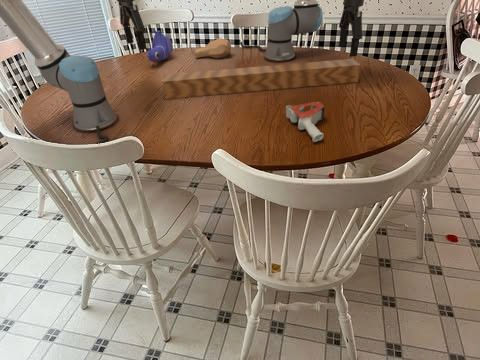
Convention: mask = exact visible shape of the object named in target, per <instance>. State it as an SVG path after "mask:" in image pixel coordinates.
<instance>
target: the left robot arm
mask: <svg viewBox="0 0 480 360" xmlns="http://www.w3.org/2000/svg"><path fill="white" fill-rule="evenodd" d="M134 1H136V0H116V2H117V3H118V8H119V9H118V10H119V22H120V25H121V26H122V28H123V31H124V35H125V40H126V44H128V45H129V44H133V43H134V37H133V33H132V29H131V27H132V26H131V24H130V20H131V23H132V25H133V27H134V29H135V35H136V39H137V44H138V48H139V51H143V50H148V48H147V44H146V39H145V32H146V27H145V25H144V23H143V20H142V17H141V14H140V11H139V8H138V5H137V4H134ZM0 19H1V21H2V22H3V23H4V24H5V25H6V26H7V27H8V28H9V30H10V31H11V32H12V33H13V34H14V36H16V38H17V39H18V40H19V41H20V43H21V44H23V46H24V47H25V48H26V49H27V51H28V52H29V53H30V54H31V56H33V57H34V65H35V66H36V67H37V69H38V70H39V73H40V75H41V77H42V79H44V81H45V82H47V84H49V85H50V86H52V87H54V88H58V89H60V90H63V91H65V92H67V93H68V96H69V99H70V101H71V104H72V108H73V114H72V117H73V118H72V119H73V125H74V128H75V129H76V131H78V132H84V133H92V132H96V133H97V137H98V138H100V139H101V140H99V141H96V143H95V144H98V143H101V144H103V143H105V142H107V141H108V140H109V136H107V135H101V131H102V130H105V129H107V128H110V127H111V126H113V125H115V124H116V122H117V121H118V116H117V114H116V111H115V110H114V108H113V107H112V105H111V103H110V102H109V101H108V99H107V96H106V92H105V89H104V87H103V86H104V85H103V83H102V79H101V75H100V71H99V68H98V66H97V63H96V60H94V59H93V57H92V58H91V57H90V56H87V55H71V54H70V53H69V52H68V51H67V49H66V48H65V47H64V46H63V45H62V44H57V43H56V42H55V41H54V40H53V38H52V37H51V36H50V34H49V33H48V32H47V30H46V29H45V28H44V27H43V25H42V24H41V23H40V21H39V20H38V19H37V17H35V15H34V13H33V12H31V10H30V9H29V7H28V6H27V5H26V4H25V2H24V1H23V0H0Z"/></svg>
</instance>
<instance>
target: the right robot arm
mask: <svg viewBox="0 0 480 360" xmlns="http://www.w3.org/2000/svg"><path fill="white" fill-rule="evenodd" d="M342 2H343V10H342V14H341V17H340V20H339V24H338V28H339V31H340V32H339V41H338V48H346V45H347V38H348V30H349V25H350V27H351V34H352V37H351V39H350V40H351V41H350V51H349V57H350V58H351V57H357V56H358V51H359V43H360V40H362V39H363V10H361V11H360V9H359V8H361V7H363V6H364V4H365V0H343V1H342ZM323 15H324V13H323V9H322V7H321V6H319V2H318V1H317V0H296V1H295V3H294V4H293V7H292V6H290V5H286V6H278V7H275V8H273V9H271V10H270V11H269V13H268V20H267V24H268V25H267V27H268V28H267V31H268V41H267V42H268V43H267V47H266V48H262V46H260V45H244V44H243V41H240V46H241V48H244V49H249V48H250V49H251V48H258V49H259V50H260V51H261V52H265V54H264V59H265V60H266V61H268V62H273V63H284V62H290V61H293V60H294V59H295V58H296V54H295V49H294V46H293V41H292V37H293V36H294V35H301V34H311V33H315V32H317V31H318V30H319V29H320V27H321V26H322V24H323V18H324V16H323Z"/></svg>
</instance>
